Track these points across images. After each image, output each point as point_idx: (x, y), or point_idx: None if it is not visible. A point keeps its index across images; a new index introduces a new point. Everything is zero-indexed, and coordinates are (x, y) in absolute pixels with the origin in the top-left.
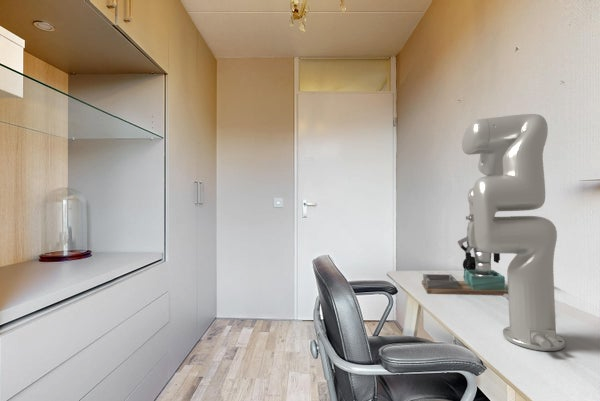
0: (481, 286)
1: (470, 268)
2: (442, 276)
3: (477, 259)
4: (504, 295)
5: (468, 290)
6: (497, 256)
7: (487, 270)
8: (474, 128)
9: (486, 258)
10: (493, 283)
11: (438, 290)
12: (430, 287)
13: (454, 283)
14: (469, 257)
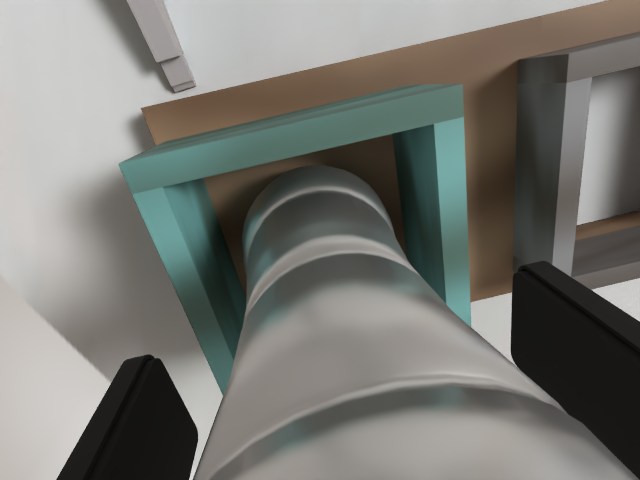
0: (346, 102)
1: None
2: (612, 259)
3: (452, 311)
4: (176, 43)
5: (447, 42)
6: (92, 446)
7: (292, 221)
8: None
9: (310, 308)
10: (246, 126)
11: None
12: None
13: (586, 48)
14: (612, 307)
